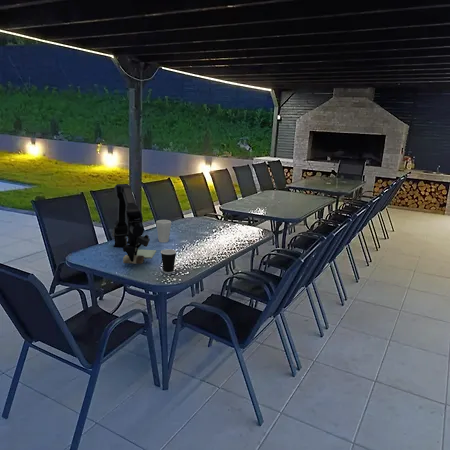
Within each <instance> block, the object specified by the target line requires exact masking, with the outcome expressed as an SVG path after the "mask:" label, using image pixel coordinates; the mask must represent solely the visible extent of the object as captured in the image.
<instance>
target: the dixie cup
mask: <svg viewBox="0 0 450 450" xmlns="http://www.w3.org/2000/svg"><path fill="white" fill-rule="evenodd" d="M160 254H161V255H160V256H161V263H162V270H163V274H166V275H170V274H173V273H174V271H175V263H176V255H177V251H176V250H175V249H166V248H165V249H161V250H160Z"/></svg>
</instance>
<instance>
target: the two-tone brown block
mask: <svg viewBox="0 0 450 450" xmlns="http://www.w3.org/2000/svg"><path fill="white" fill-rule="evenodd" d="M144 261H145V258H144V256H137V255H134V260H133V262H131V260H130V258H129V256H128V254H125V255H124V256H123V258H122V263H123V264H135V265H137V264H138V265H142V264H143V262H144Z"/></svg>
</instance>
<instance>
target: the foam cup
mask: <svg viewBox="0 0 450 450" xmlns="http://www.w3.org/2000/svg"><path fill="white" fill-rule="evenodd" d="M155 224H156V231H157V238H158V243H163V244H164V243H165V244H166V243H168V242H169V241H170V234H171V227H172V221H171V220H170V219H169V220H168V219H159V220H156V222H155Z"/></svg>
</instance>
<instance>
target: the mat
mask: <svg viewBox="0 0 450 450" xmlns="http://www.w3.org/2000/svg"><path fill="white" fill-rule="evenodd" d="M156 253H157V250H156V249H138V251H137V256H144V259H151V260H152V259H153V258H154V256H155V254H156Z"/></svg>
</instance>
